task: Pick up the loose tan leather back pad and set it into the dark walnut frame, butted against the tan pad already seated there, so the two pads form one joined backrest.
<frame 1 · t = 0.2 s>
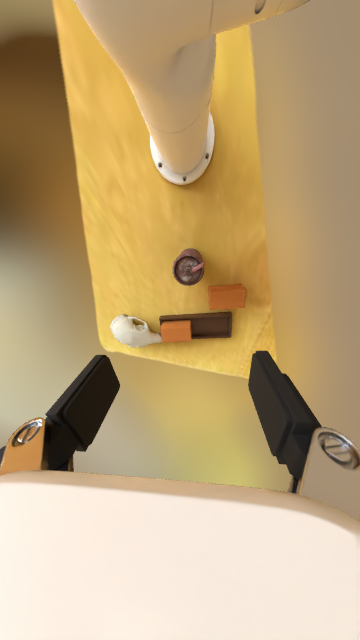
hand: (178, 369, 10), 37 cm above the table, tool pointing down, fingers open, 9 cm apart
frame: (195, 325, 50), on the table
can: (190, 260, 41), on the table
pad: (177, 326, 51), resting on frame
animal skull: (140, 327, 53), on the table
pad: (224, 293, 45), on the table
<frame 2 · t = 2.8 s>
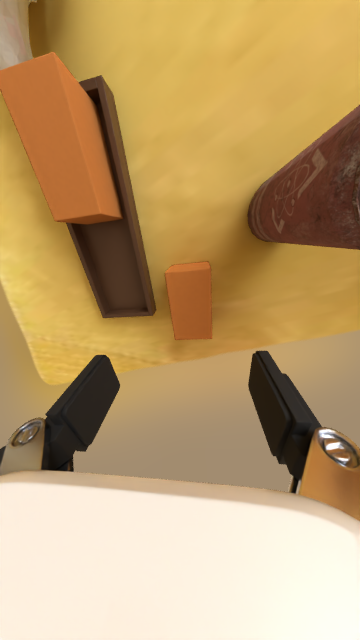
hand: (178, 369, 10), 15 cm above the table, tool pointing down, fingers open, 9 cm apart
frame: (110, 234, 20), on the table
can: (275, 212, 17), on the table
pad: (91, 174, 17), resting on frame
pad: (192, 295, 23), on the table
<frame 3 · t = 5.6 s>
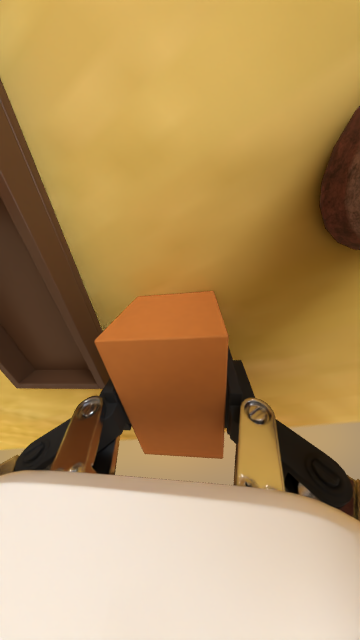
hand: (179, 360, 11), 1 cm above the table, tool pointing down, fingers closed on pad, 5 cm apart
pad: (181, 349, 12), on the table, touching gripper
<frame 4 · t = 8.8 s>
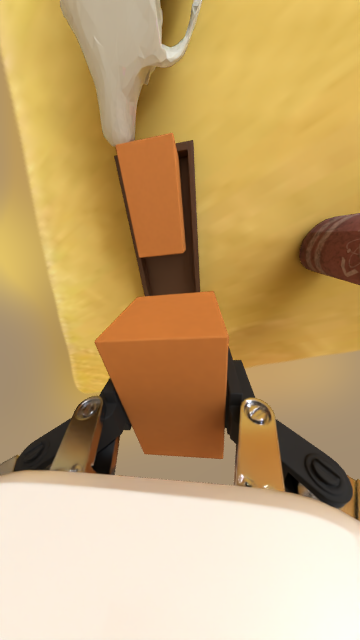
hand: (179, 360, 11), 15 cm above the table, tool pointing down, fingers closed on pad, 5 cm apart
frame: (170, 262, 22), on the table
can: (322, 246, 20), on the table
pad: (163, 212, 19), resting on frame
animal skull: (141, 36, 14), on the table
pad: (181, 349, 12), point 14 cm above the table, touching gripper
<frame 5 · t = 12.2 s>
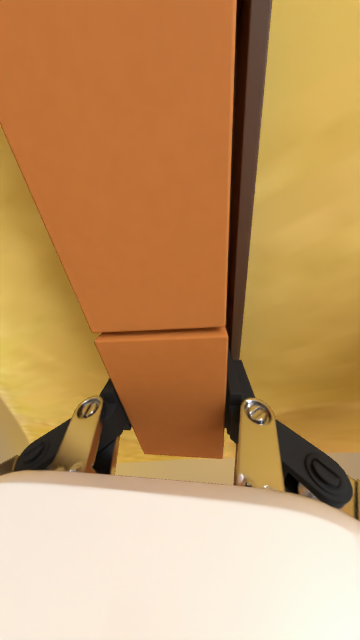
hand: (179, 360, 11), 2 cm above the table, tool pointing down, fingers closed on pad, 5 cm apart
frame: (176, 306, 11), on the table
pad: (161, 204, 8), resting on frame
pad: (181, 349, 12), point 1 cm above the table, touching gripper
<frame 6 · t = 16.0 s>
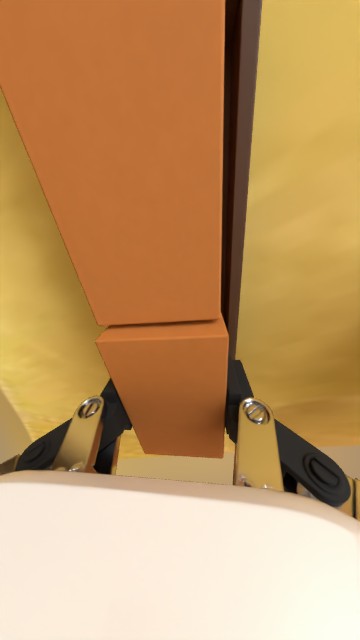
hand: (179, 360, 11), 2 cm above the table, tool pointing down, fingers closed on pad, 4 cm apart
frame: (175, 303, 12), on the table
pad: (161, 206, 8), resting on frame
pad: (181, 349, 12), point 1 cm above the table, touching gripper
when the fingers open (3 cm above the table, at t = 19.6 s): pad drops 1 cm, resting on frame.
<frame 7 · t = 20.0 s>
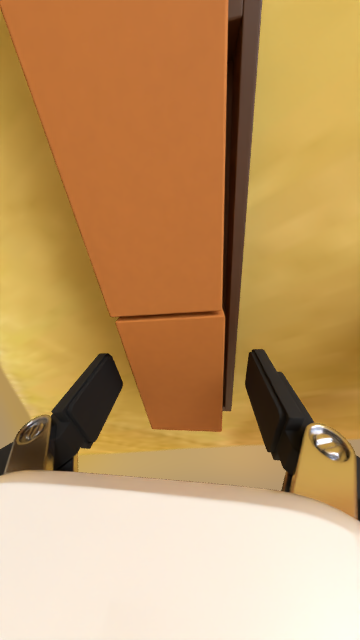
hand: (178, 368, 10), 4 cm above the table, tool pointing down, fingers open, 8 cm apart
frame: (179, 300, 12), on the table
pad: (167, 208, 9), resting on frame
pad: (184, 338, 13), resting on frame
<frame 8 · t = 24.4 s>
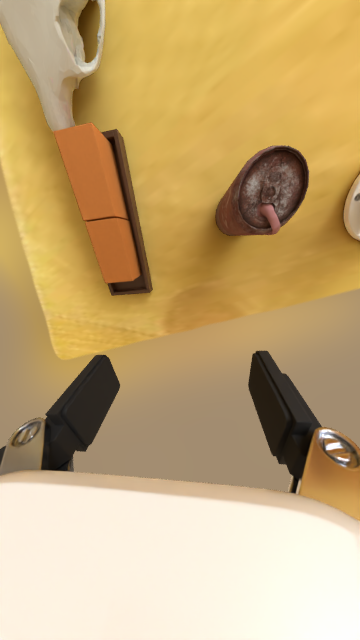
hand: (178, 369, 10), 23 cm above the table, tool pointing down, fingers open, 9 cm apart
frame: (118, 231, 27), on the table
can: (234, 215, 25), on the table
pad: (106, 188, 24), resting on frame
animal skull: (74, 54, 19), on the table
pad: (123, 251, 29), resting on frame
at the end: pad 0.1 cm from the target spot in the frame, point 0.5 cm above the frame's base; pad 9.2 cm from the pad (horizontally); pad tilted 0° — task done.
